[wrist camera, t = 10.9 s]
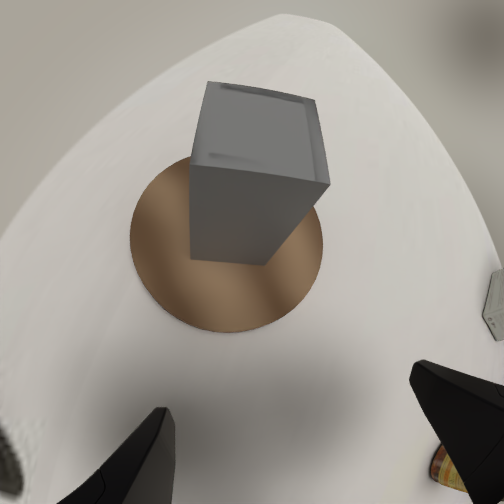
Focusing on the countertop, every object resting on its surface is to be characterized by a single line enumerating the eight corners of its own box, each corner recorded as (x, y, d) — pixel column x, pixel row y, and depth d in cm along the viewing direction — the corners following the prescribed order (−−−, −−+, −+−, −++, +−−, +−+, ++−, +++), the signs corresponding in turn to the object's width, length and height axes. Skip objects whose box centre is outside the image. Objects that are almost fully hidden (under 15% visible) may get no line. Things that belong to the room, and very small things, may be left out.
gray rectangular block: (264, 265, 19) (330, 184, 10) (190, 259, 18) (189, 164, 9) (264, 201, 20) (314, 99, 11) (197, 194, 20) (207, 81, 10)
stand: (209, 373, 17) (214, 382, 12) (104, 216, 19) (84, 180, 14) (346, 258, 22) (380, 235, 17) (243, 140, 24) (254, 100, 19)
